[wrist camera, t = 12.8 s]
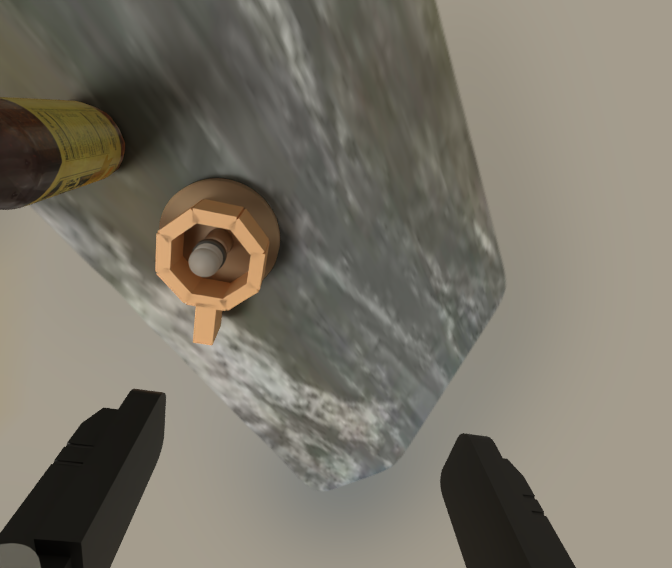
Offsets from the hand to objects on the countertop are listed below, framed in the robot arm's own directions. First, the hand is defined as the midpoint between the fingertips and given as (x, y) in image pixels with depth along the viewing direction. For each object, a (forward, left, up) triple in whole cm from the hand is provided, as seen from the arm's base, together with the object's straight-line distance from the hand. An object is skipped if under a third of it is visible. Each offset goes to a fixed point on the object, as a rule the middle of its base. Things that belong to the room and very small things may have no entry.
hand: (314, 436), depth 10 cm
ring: (+8, -8, -27) cm, 29 cm away
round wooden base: (+5, -8, -28) cm, 30 cm away
